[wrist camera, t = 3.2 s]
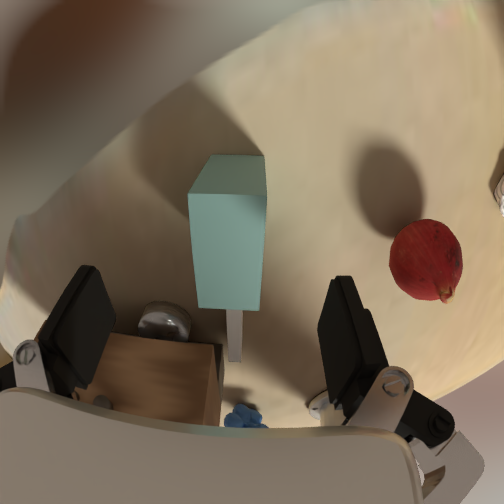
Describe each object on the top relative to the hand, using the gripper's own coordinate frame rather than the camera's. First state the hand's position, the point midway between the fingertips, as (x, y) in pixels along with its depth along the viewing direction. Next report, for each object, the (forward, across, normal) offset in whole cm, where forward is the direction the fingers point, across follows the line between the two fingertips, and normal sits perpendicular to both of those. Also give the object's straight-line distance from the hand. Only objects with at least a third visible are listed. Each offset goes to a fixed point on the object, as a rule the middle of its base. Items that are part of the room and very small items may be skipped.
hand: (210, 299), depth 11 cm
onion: (+10, -14, +3) cm, 18 cm away
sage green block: (+10, 0, +7) cm, 12 cm away
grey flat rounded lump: (+10, +6, +14) cm, 18 cm away
